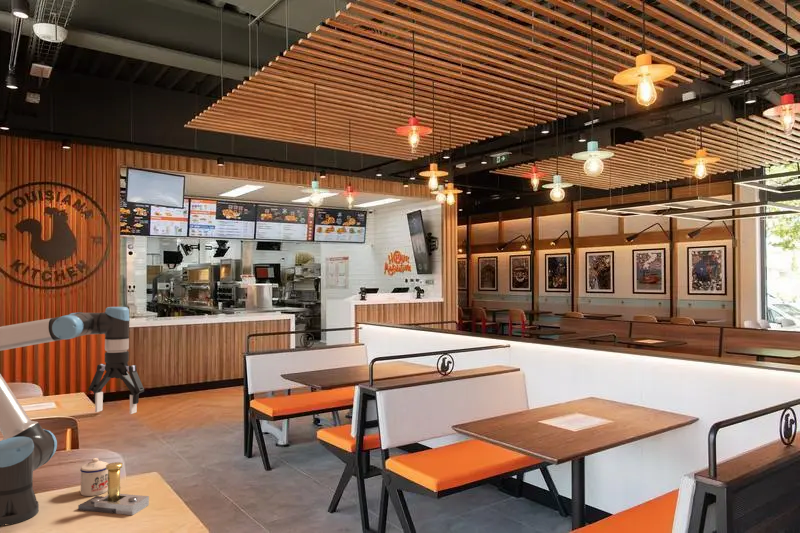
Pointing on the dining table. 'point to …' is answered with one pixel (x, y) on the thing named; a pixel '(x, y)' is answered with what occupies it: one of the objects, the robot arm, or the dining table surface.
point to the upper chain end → (124, 504)
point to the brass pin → (114, 481)
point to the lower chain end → (90, 507)
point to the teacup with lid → (94, 478)
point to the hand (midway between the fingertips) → (115, 412)
